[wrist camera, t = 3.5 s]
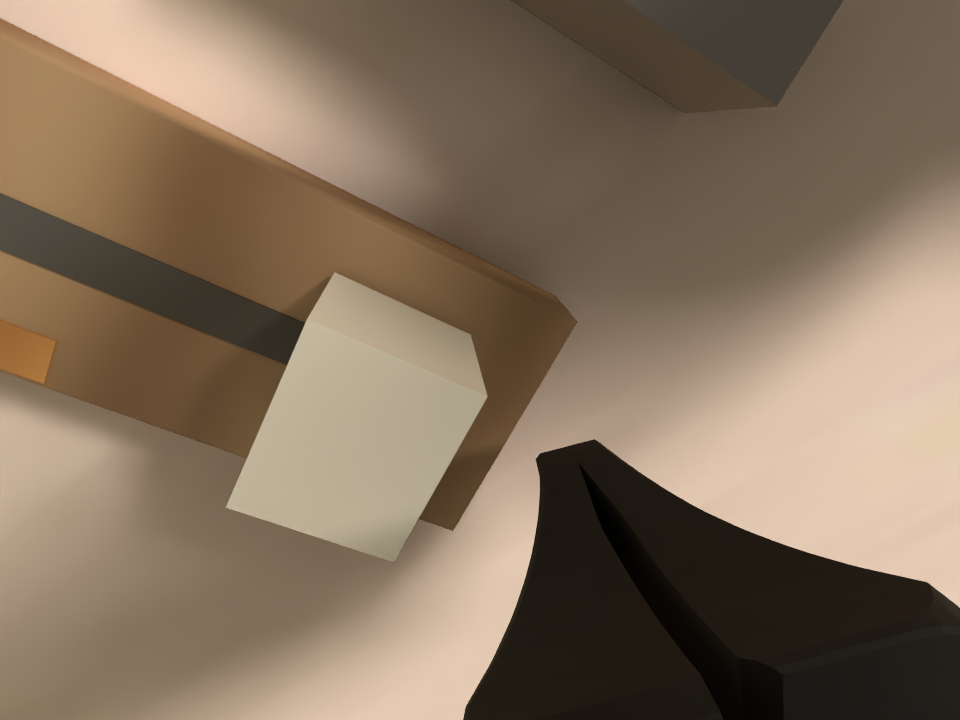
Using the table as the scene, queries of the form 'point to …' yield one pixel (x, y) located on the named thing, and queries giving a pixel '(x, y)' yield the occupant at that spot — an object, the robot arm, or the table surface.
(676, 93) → the bar
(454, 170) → the table surface
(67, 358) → the switch block
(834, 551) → the table surface
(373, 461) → the switch tab
